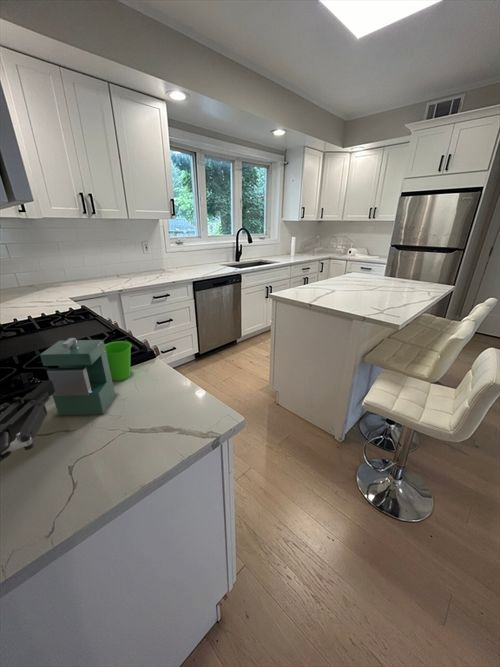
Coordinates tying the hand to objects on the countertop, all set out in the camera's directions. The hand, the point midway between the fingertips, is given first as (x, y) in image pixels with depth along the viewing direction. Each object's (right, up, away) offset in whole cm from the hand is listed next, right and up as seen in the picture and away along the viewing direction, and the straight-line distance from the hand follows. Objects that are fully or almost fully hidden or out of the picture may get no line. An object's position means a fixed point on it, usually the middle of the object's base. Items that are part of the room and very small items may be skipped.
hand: (49, 386), depth 58 cm
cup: (+2, -3, +30) cm, 30 cm away
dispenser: (-1, -9, +16) cm, 18 cm away
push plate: (-1, -4, +9) cm, 9 cm away
